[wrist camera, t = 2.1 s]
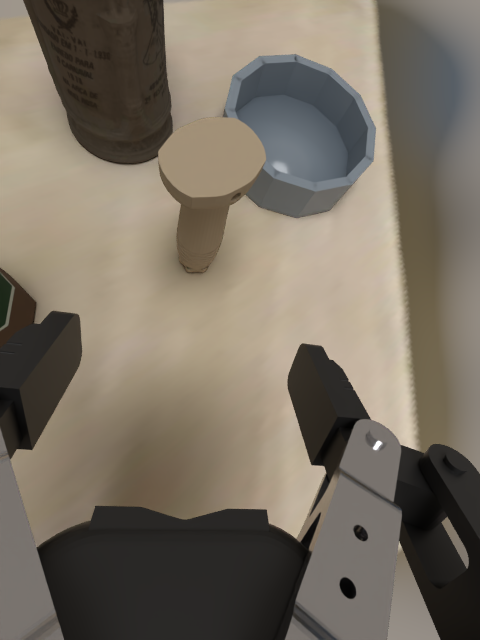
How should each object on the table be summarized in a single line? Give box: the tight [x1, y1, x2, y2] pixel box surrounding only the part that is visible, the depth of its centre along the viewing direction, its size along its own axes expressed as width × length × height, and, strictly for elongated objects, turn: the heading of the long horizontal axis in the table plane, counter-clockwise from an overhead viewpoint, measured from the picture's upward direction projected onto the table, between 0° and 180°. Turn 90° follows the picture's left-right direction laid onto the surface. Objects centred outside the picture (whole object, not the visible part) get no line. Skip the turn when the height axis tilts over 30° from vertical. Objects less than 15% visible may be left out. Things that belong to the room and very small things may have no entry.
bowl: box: [223, 54, 376, 218], centre depth 35 cm, size 17×17×5 cm
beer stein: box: [23, 0, 173, 163], centre depth 25 cm, size 15×11×20 cm
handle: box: [158, 117, 266, 273], centre depth 25 cm, size 5×6×15 cm
